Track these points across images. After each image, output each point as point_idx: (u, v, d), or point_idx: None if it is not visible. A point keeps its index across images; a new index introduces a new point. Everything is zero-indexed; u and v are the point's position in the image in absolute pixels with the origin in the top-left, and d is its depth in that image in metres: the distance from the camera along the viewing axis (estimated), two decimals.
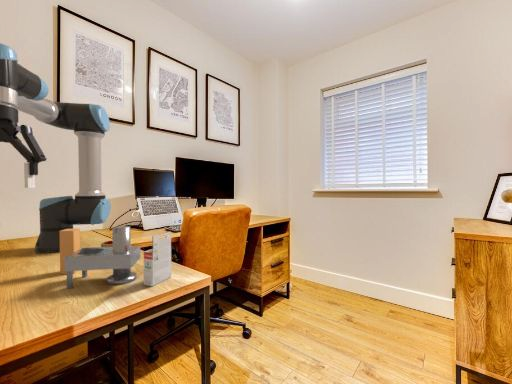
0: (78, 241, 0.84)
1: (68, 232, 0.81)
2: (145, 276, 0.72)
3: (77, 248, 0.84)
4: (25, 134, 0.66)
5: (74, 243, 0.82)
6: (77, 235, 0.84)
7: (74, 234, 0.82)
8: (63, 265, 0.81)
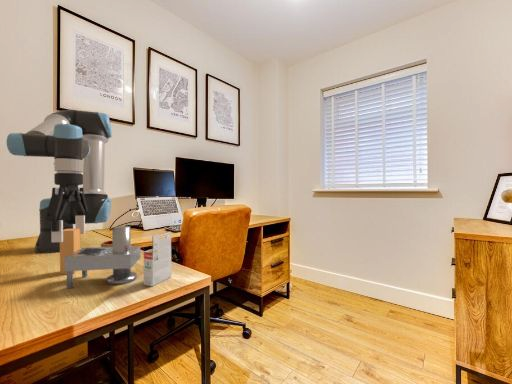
0: (78, 241, 0.84)
1: (68, 232, 0.81)
2: (145, 276, 0.72)
3: (77, 248, 0.84)
4: None
5: (74, 243, 0.82)
6: (77, 235, 0.84)
7: (74, 234, 0.82)
8: (63, 265, 0.81)
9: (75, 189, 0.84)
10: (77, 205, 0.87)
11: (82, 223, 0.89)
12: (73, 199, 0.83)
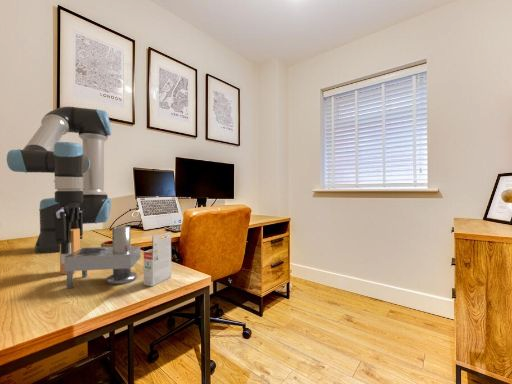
0: (78, 241, 0.84)
1: None
2: (145, 276, 0.72)
3: (77, 248, 0.84)
4: None
5: (74, 243, 0.82)
6: (77, 235, 0.84)
7: (74, 234, 0.82)
8: (63, 265, 0.81)
9: (76, 204, 0.85)
10: (73, 225, 0.85)
11: None
12: (73, 216, 0.83)
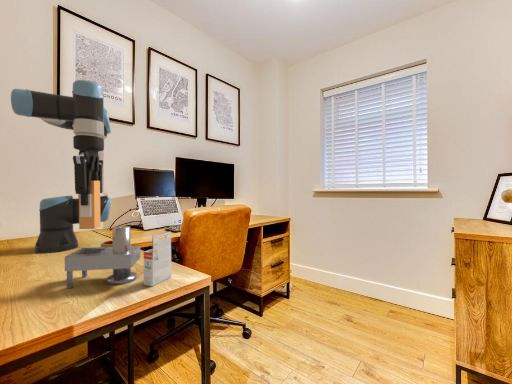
0: (98, 194, 0.76)
1: None
2: (145, 276, 0.72)
3: (97, 202, 0.75)
4: None
5: (94, 195, 0.73)
6: (98, 187, 0.75)
7: (94, 185, 0.73)
8: (82, 219, 0.73)
9: (96, 153, 0.76)
10: (93, 177, 0.76)
11: None
12: (93, 166, 0.75)
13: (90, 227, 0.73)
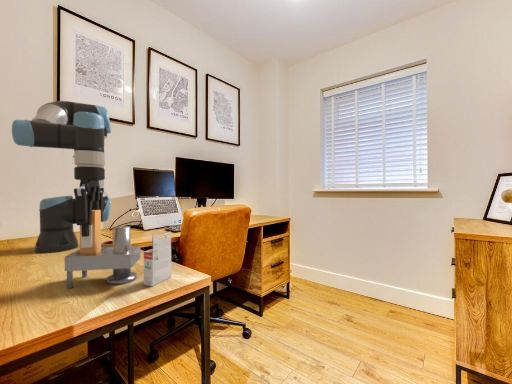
0: (99, 223, 0.76)
1: None
2: (145, 276, 0.72)
3: (98, 231, 0.76)
4: None
5: (95, 225, 0.74)
6: (98, 216, 0.76)
7: (95, 215, 0.73)
8: (83, 249, 0.73)
9: (97, 182, 0.77)
10: (94, 206, 0.76)
11: None
12: (94, 196, 0.75)
13: None
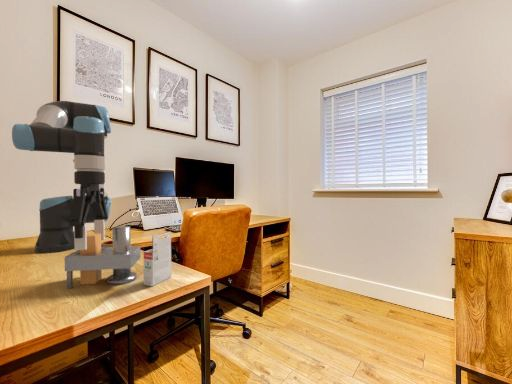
0: (99, 247, 0.76)
1: (89, 238, 0.73)
2: (145, 276, 0.72)
3: None
4: None
5: (95, 250, 0.74)
6: (99, 240, 0.76)
7: (95, 240, 0.74)
8: (84, 274, 0.73)
9: (96, 188, 0.76)
10: (97, 207, 0.79)
11: (102, 228, 0.81)
12: (94, 200, 0.75)
13: (91, 282, 0.74)
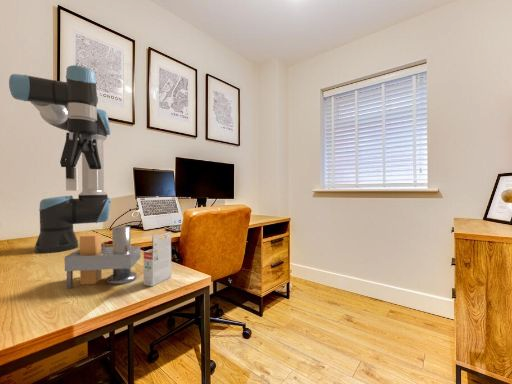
0: (99, 247, 0.76)
1: (89, 238, 0.73)
2: (145, 276, 0.72)
3: None
4: None
5: (95, 250, 0.74)
6: (99, 240, 0.76)
7: (95, 240, 0.74)
8: (84, 274, 0.73)
9: (89, 139, 0.79)
10: (90, 157, 0.82)
11: (95, 177, 0.85)
12: (87, 149, 0.78)
13: (91, 282, 0.74)
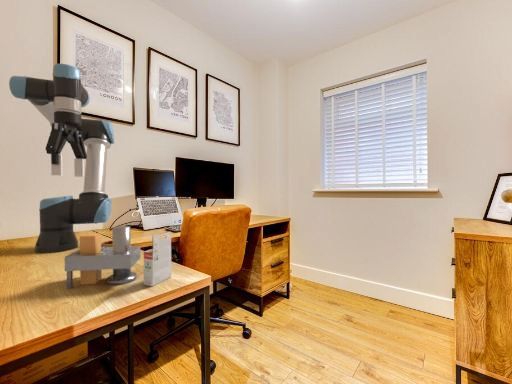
0: (99, 247, 0.76)
1: (89, 238, 0.73)
2: (145, 276, 0.72)
3: None
4: None
5: (95, 250, 0.74)
6: (99, 240, 0.76)
7: (95, 240, 0.74)
8: (84, 274, 0.73)
9: (74, 130, 0.87)
10: (76, 147, 0.90)
11: (81, 166, 0.92)
12: (72, 139, 0.86)
13: (91, 282, 0.74)
